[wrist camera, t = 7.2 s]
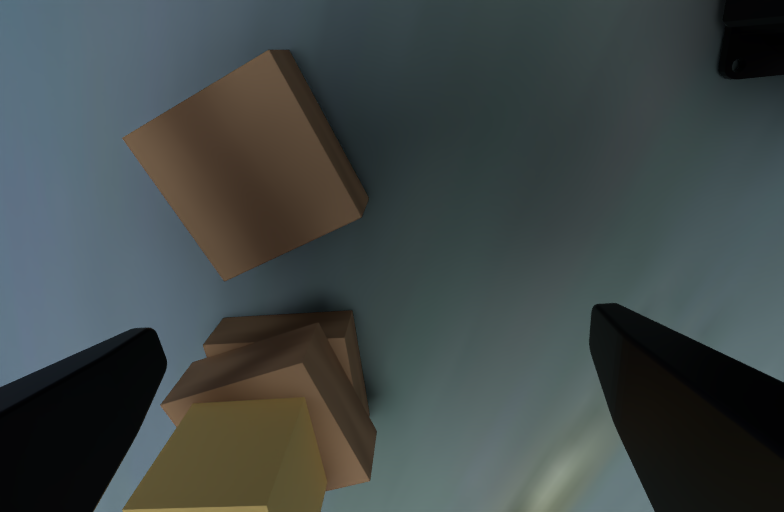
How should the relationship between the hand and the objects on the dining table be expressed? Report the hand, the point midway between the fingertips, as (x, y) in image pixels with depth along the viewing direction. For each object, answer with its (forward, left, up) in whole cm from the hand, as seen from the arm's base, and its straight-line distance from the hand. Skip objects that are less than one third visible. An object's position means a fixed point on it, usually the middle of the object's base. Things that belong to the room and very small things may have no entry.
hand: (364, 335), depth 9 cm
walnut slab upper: (+7, +10, -10) cm, 16 cm away
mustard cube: (+7, +10, -7) cm, 14 cm away
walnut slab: (+6, -1, -13) cm, 14 cm away
